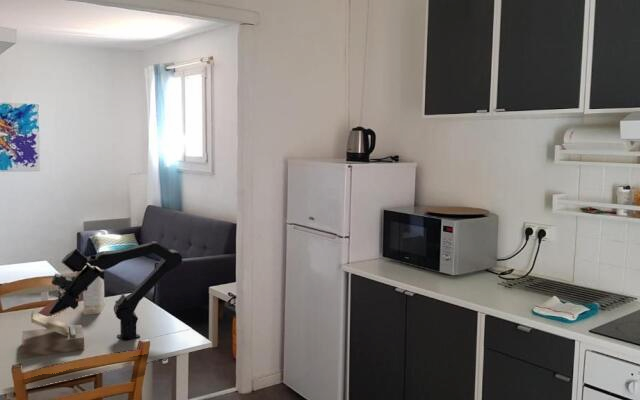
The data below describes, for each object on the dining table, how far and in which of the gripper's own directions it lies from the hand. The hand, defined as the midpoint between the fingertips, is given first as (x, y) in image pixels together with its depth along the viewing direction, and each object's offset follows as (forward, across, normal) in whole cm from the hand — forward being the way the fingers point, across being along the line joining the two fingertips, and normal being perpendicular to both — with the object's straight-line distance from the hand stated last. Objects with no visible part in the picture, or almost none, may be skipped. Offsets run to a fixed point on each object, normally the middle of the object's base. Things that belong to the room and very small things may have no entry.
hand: (50, 313), depth 201 cm
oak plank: (+3, 0, +3) cm, 4 cm away
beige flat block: (+8, 0, +9) cm, 12 cm away
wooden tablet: (+7, -50, +11) cm, 52 cm away
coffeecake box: (-4, -42, +22) cm, 48 cm away
